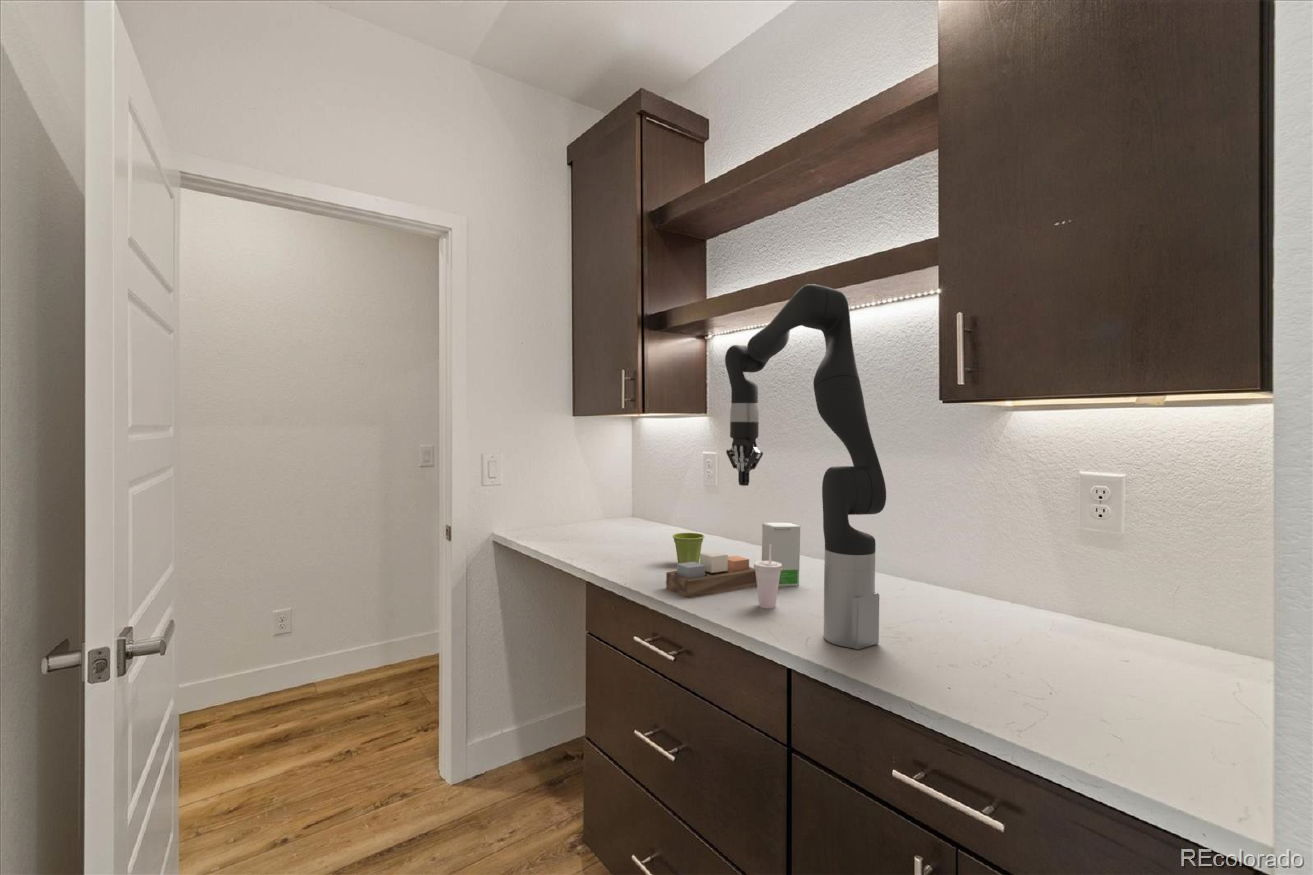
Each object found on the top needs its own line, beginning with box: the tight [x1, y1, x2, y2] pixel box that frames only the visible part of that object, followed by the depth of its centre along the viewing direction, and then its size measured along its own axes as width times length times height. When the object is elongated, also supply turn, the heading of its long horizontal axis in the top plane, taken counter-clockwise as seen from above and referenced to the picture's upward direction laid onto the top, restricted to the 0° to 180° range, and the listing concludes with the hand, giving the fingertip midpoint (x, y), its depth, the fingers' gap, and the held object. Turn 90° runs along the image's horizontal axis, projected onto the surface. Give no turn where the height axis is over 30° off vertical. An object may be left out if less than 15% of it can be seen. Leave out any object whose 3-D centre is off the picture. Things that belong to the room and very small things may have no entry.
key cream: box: [699, 550, 729, 573], centre depth 150 cm, size 5×5×4 cm
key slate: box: [676, 562, 705, 579], centre depth 146 cm, size 5×5×4 cm
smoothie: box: [753, 545, 782, 610], centre depth 134 cm, size 6×6×14 cm
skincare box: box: [761, 522, 801, 588], centre depth 154 cm, size 8×7×16 cm
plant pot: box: [672, 532, 705, 564], centre depth 174 cm, size 9×9×9 cm
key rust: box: [728, 555, 750, 572], centre depth 154 cm, size 5×5×4 cm
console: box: [665, 566, 757, 599], centre depth 150 cm, size 10×22×4 cm, turn 121°
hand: (743, 485), depth 158 cm, fingers closed
